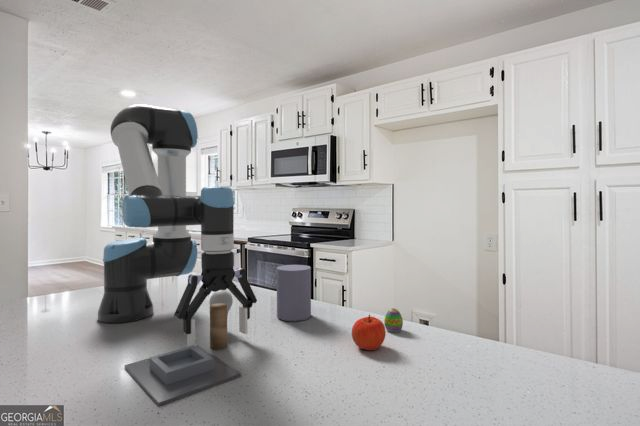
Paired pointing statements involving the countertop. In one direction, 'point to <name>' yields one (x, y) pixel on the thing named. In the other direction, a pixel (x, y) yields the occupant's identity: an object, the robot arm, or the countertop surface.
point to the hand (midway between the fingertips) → (218, 339)
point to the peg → (218, 326)
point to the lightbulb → (221, 298)
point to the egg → (393, 320)
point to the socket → (180, 373)
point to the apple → (368, 333)
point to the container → (293, 292)
